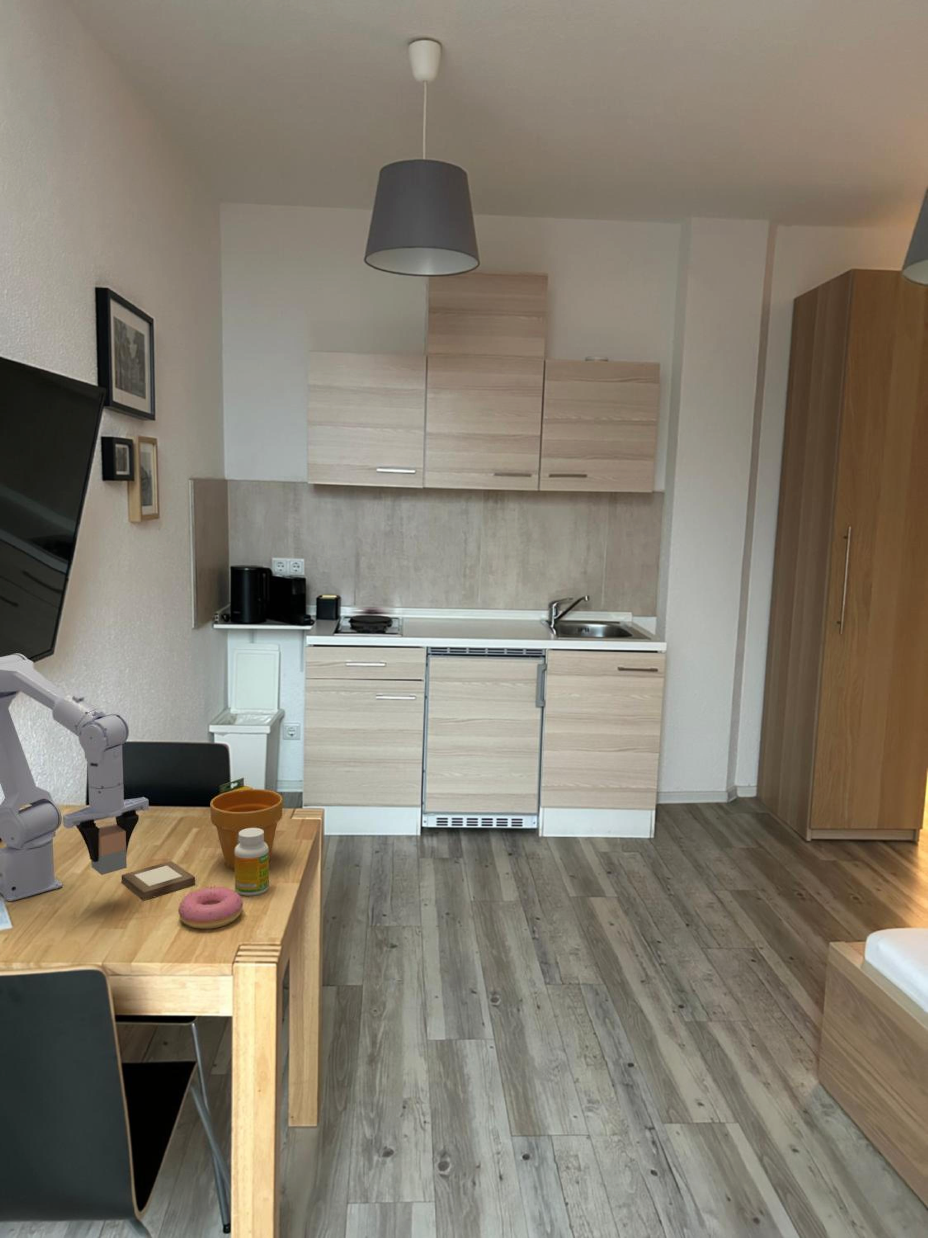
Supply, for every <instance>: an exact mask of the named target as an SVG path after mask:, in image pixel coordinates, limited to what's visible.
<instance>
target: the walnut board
mask: <svg viewBox="0 0 928 1238" xmlns="http://www.w3.org/2000/svg"><path fill="white" fill-rule="evenodd" d="M121 883H122V884H123V885H125V886H126V888H128V889H130V891H132V892H133V891H134V892H133V893H134V894H136V895H137V896H138V897H140V898H141V899H142V898H143V899H142V900H143V901H146V900H149V899H148V898H150V899H153V898H155V897H154V896H156V897H159V896H161V894H163V895H165V893H166V894H168V893H171V892H174V891H178V890H181V889H185V888H187V887H191V886H194V885H196V877H195V876H194V874H192V873H190V872H188V871H187V870H186V869H184V868H182V867H181V866H179V865H178V864H177V863H176V862H174V861H172V860H170V861H166V862H163V863H159V864H156V865H151V866H149V867H145V868H142V869H138V870H134V871H131V872H127V873H124V874H121ZM152 897H153V898H152ZM145 899H146V900H145Z"/></svg>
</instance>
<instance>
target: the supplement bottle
mask: <svg viewBox="0 0 928 1238" xmlns="http://www.w3.org/2000/svg"><path fill="white" fill-rule="evenodd" d="M238 840H239V844H238V845H237V846H236V847H235V852H234V858H235V869H234V891H235V892H238V894H239V895H240V896H246V897H249V896H252V897H253V896H258V895H261V894H264V893H265V892H267V891H268V889H269V887H270V862H269V861H270V860H269V849H268V845H267V844H266V843H265V842H263V841H264V831H263V830H262V829H259V828H247V829H243V830H241V831H240V832H239V838H238Z"/></svg>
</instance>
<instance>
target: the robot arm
mask: <svg viewBox="0 0 928 1238" xmlns="http://www.w3.org/2000/svg"><path fill="white" fill-rule="evenodd" d="M20 693H22V694H24V695H26V696H28V697H29V698H32V699H33V700H35V701H36V702H38V703H39V704H41V705H43V706H45V707H47V709H49V710H51V713H52V719H53V720H54V721H55V722H56V723H58V724H59V725H61V726H62V727H64V728H65V729H67V730H69V732H71V733H72V734H74V735H75V736H77V737H78V741H79V745H80V746H81V748H82V749H83V751H84V752H83V753H84V759H85V760H86V762H87V775H88V776H87V777H88V781H87V782H88V803H89V806H86V807H85V808H82V809H78V810H75V811H73V812H70V813H67V814H63V815H62V812H61V810H60V807H59V806H58V805H57V804H56V803H55V801H54V800H53V798H52V796H51V793H50V792H49V791H48V790H47V789H43V788H40V787H39V786H37V785H36V782H35V780H34V777H33V774H32V771H31V768H30V765H29V763H28V760H27V757H26V754H25V752H24V749H23V746H22V744H21V743H22V742H21V740H20V738H19V734H18V732H17V729H16V727H15V724H14V721H13V718H12V716H11V713H10V706H11V703H12V702H13V700H14V699H15V698H16V697H17V696H18V695H19V694H20ZM129 735H130V729H129V726H128V723H127V721H126V720H125V718H123V717H122V715H121V714H119V713H110V714H109V713H107V712H104V711H103V710H102V709H100V708H97V707H96V706H94V705H93V704H92V703H90V702H88V701H87V700H86V699H85V696H83V695H82V694H80V693H68V694H65V693H64V692H63V691H62V690H61V689H59V688H58V687H57V686H56V685H55V684H53V683H52V682H51V681H49V680H48V679H47V678H46V677H45V676H44V675H42V674H41V673H40V672H39V671H38V670H36V666H35V663H34V661H32V660H30V659H28V657H26V656H25V655H23V654H21V653H17V652H16V653H11V654H10V655H5V656H0V787H1V790H2V793H3V796H4V798H3V800H2V802H1V803H0V839H1V841H2V843H3V844H5V846H3V847H2V848H0V894H1V895H2V896H3V897H4V898H5V899H6V901H8V902H13V901H17V900H19V899H23V898H27V897H30V896H31V897H32V896H35V895H38V894H41V893H46V892H49V891H53V890H56V889H59V888H62V887H63V883H62V882H61V881H59V879H57V877H55V863H54V861H55V858H54V839H53V838H54V837H56V835H57V833H56V831H57V830H58V829H59V828H60V826H61V824H62V825H63V827H64V828H66V829H72V828H74V827H76V828H77V830H78V831H79V833H80V835H81V837H82V838H83V841H84V843H85V846H86V849H87V851H88V856H89V859H90V860H92V861H93V862H97V861H98V858H99V854H98V836H99V830H100V829H99V828H100V827H98V826H97V823H96V822H95V821H101V820H104V819H109V818H110V819H111V818H112V819H113V818H114V819H115V822H116V823H115V824H116V825H118V826H119V827H121V828H122V829H123V830H125V831H126V855H127V852H128V848H129V844H130V840H131V837H132V834H133V832H134V830H135V828H136V826H137V824H138V822H139V818H140V817H139V814H138V813H137V812H139V811H144V812H145V811H149V810H150V809H149V808H150V807H149V799H148V798H146V797H144V796H142V797H137V798H130V799H124V798H125V797H124V795H125V794H124V771H123V770H124V769H123V768H124V766H123V765H124V764H123V744H125V743H126V741H127V740H128V738H129ZM28 805H30V806H28ZM24 806H26V807H24ZM22 807H24V808H23V809H21V808H22Z"/></svg>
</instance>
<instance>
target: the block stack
mask: <svg viewBox="0 0 928 1238" xmlns="http://www.w3.org/2000/svg"><path fill="white" fill-rule="evenodd" d="M98 828H99V829H100V830H99V836H98V854H99V858H98V861H97V862H93V861H92V860H91V859H90V860H91V868H92V869H93V870H94V871H96V872H97V873H98V874H100V875H101V876H103V875H106V874H110V873H114V872H117V871H120V870H125V869H127V866H128V865H127V854H126V831H125V830H123V829H122V828H121V827H119V826H118V825H117V823H114V824H108V825H106V826H100V827H98Z"/></svg>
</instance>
